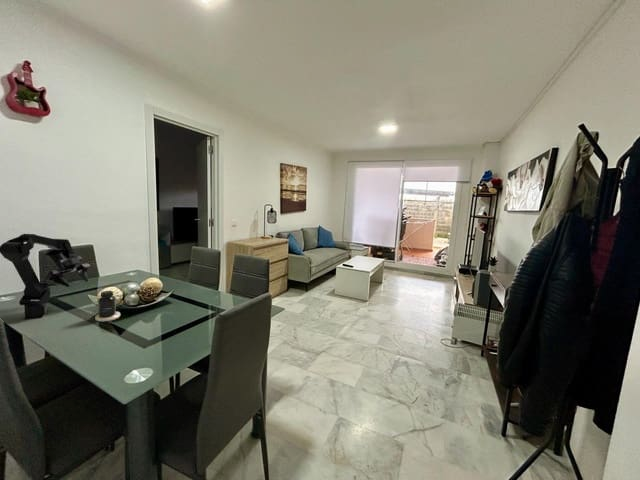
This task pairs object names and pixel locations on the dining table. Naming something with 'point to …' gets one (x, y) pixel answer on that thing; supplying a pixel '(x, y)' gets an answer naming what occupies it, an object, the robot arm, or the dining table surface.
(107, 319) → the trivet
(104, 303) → the supplement bottle
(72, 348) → the dining table surface
